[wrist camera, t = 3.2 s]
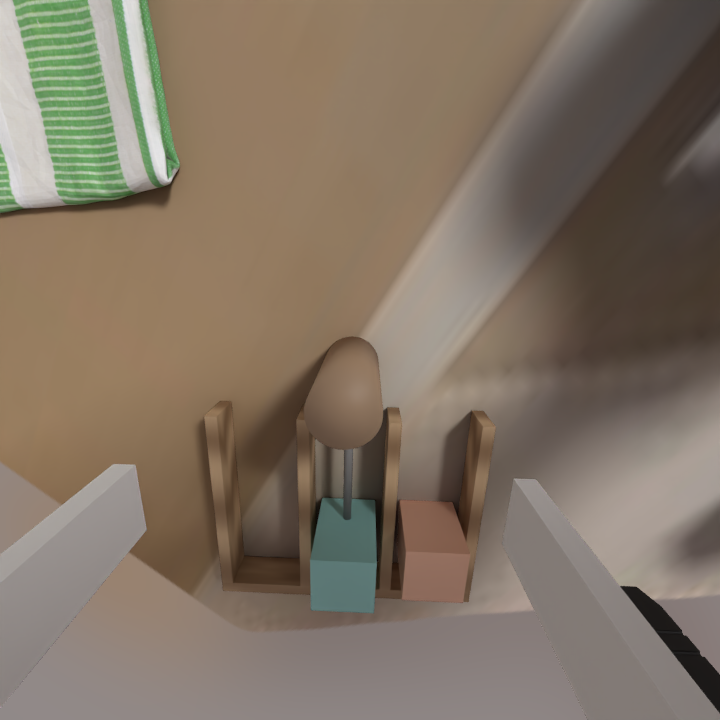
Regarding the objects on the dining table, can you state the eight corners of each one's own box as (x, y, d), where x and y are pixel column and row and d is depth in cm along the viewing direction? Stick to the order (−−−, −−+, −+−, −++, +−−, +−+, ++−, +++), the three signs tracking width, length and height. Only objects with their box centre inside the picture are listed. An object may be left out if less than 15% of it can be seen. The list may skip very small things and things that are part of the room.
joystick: (322, 335, 28) (297, 375, 18) (383, 337, 28) (390, 378, 18) (322, 540, 34) (303, 652, 24) (372, 542, 33) (374, 655, 24)
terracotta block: (399, 499, 32) (406, 551, 26) (452, 501, 32) (470, 554, 26) (396, 541, 34) (401, 600, 28) (446, 544, 34) (463, 602, 28)
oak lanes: (220, 401, 30) (204, 416, 27) (483, 411, 29) (495, 427, 26) (235, 563, 35) (223, 590, 32) (460, 573, 34) (468, 602, 32)
